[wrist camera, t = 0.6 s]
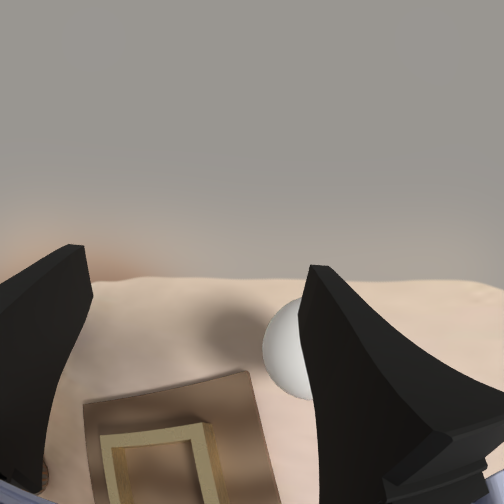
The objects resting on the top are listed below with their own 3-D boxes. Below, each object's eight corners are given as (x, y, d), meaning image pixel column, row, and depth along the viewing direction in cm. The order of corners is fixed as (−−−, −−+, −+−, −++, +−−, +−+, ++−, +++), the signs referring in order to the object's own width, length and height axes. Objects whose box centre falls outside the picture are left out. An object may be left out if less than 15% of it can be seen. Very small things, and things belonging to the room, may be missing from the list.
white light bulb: (272, 376, 25) (225, 337, 16) (322, 323, 27) (305, 256, 18) (326, 425, 22) (311, 419, 13) (378, 367, 23) (396, 321, 14)
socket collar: (238, 537, 18) (230, 544, 16) (131, 536, 19) (118, 540, 17) (212, 423, 24) (202, 422, 22) (113, 437, 25) (99, 435, 23)
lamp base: (298, 565, 16) (296, 568, 15) (115, 562, 17) (110, 563, 17) (249, 372, 26) (246, 370, 25) (87, 405, 28) (83, 404, 27)
